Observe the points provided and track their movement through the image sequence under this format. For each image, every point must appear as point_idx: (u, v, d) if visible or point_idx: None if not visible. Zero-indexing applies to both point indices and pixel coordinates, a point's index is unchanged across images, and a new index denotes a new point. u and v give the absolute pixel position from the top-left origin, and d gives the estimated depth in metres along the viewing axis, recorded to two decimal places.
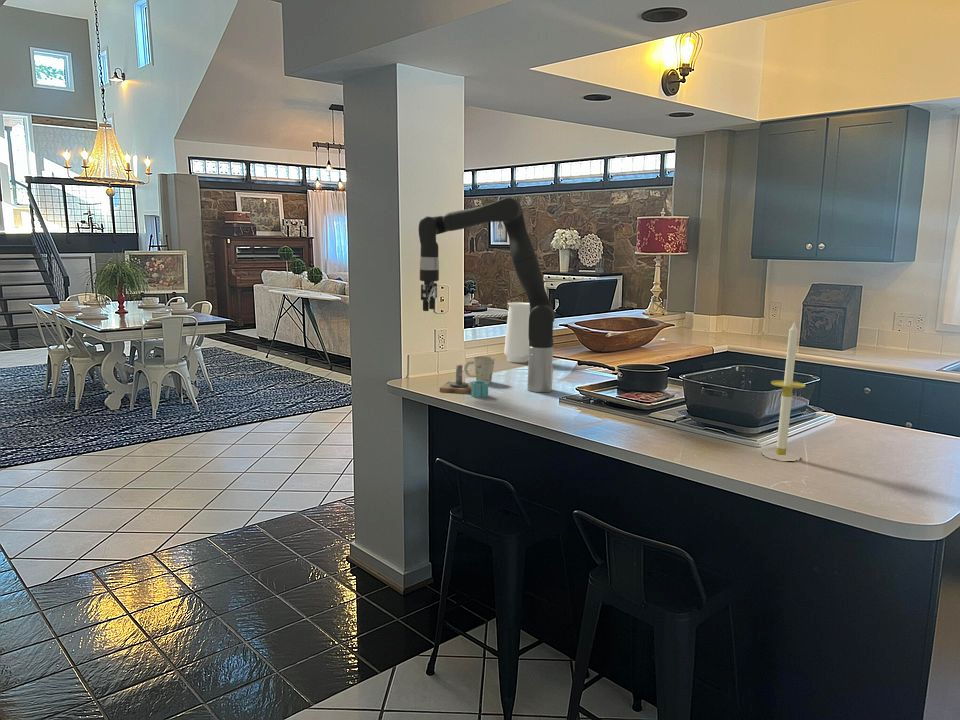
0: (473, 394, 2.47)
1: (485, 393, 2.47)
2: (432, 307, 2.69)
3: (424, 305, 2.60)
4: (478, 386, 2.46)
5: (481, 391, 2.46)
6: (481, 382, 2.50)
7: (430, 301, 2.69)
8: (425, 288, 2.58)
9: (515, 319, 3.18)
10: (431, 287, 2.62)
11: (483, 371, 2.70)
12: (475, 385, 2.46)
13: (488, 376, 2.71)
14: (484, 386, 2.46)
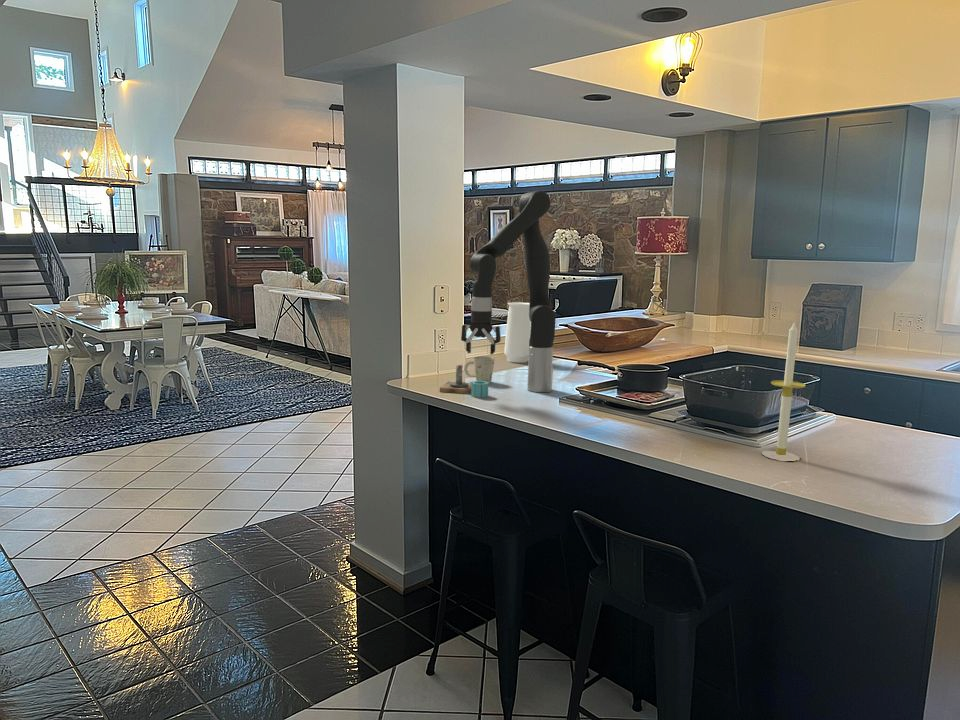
0: (473, 394, 2.47)
1: (485, 393, 2.47)
2: (470, 350, 2.48)
3: (494, 348, 2.45)
4: (478, 386, 2.46)
5: (481, 391, 2.46)
6: (481, 382, 2.50)
7: (469, 344, 2.46)
8: (499, 330, 2.44)
9: (515, 319, 3.18)
10: None
11: (483, 371, 2.70)
12: (475, 385, 2.46)
13: (488, 376, 2.71)
14: (484, 386, 2.46)
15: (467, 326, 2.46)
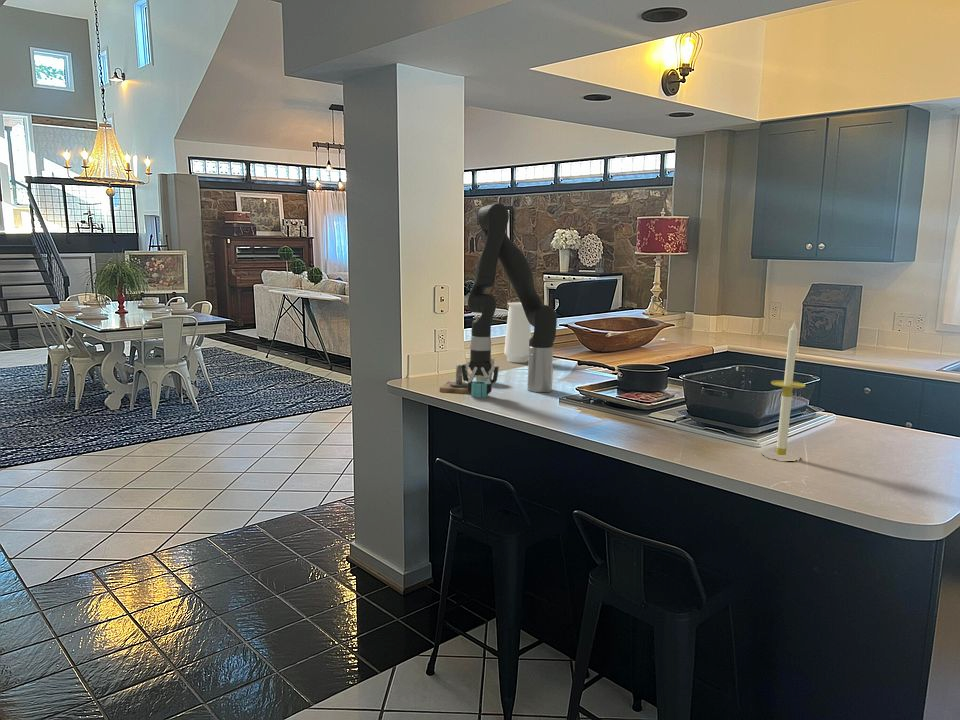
0: (473, 394, 2.47)
1: (485, 393, 2.47)
2: None
3: (491, 387, 2.48)
4: (478, 386, 2.46)
5: (481, 391, 2.46)
6: (481, 382, 2.50)
7: (471, 384, 2.49)
8: (498, 370, 2.47)
9: (515, 319, 3.18)
10: None
11: None
12: (475, 385, 2.46)
13: None
14: (484, 386, 2.46)
15: (466, 365, 2.48)
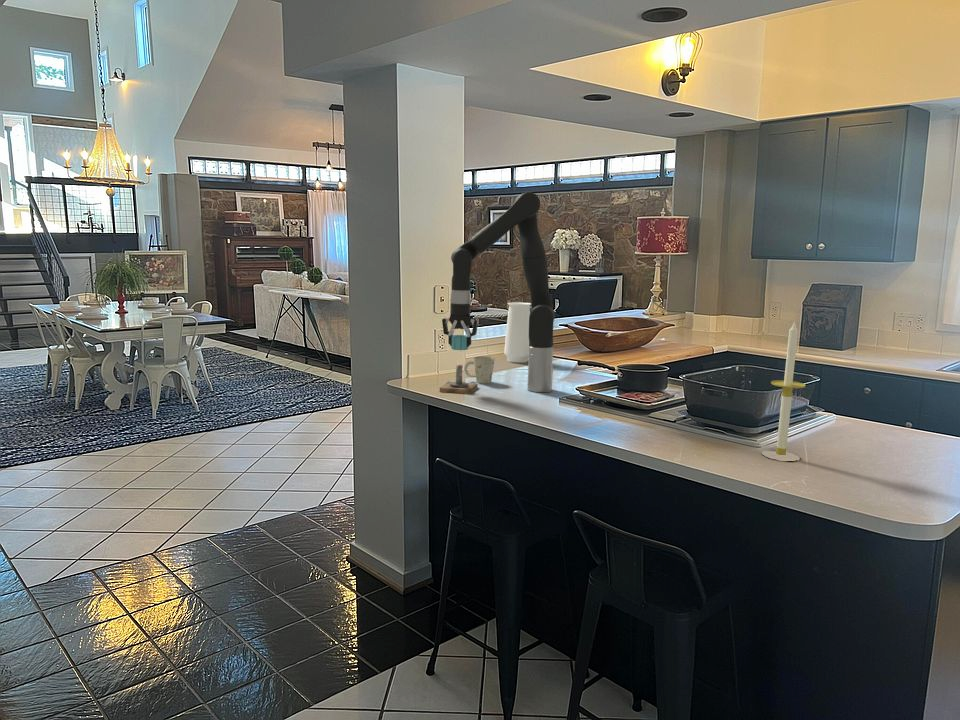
0: (453, 347, 2.54)
1: (465, 346, 2.54)
2: None
3: (470, 341, 2.55)
4: (458, 339, 2.53)
5: (461, 344, 2.53)
6: (461, 336, 2.58)
7: None
8: (477, 323, 2.54)
9: (515, 319, 3.18)
10: None
11: (483, 371, 2.70)
12: (455, 338, 2.53)
13: (488, 376, 2.71)
14: (464, 339, 2.53)
15: (447, 319, 2.55)
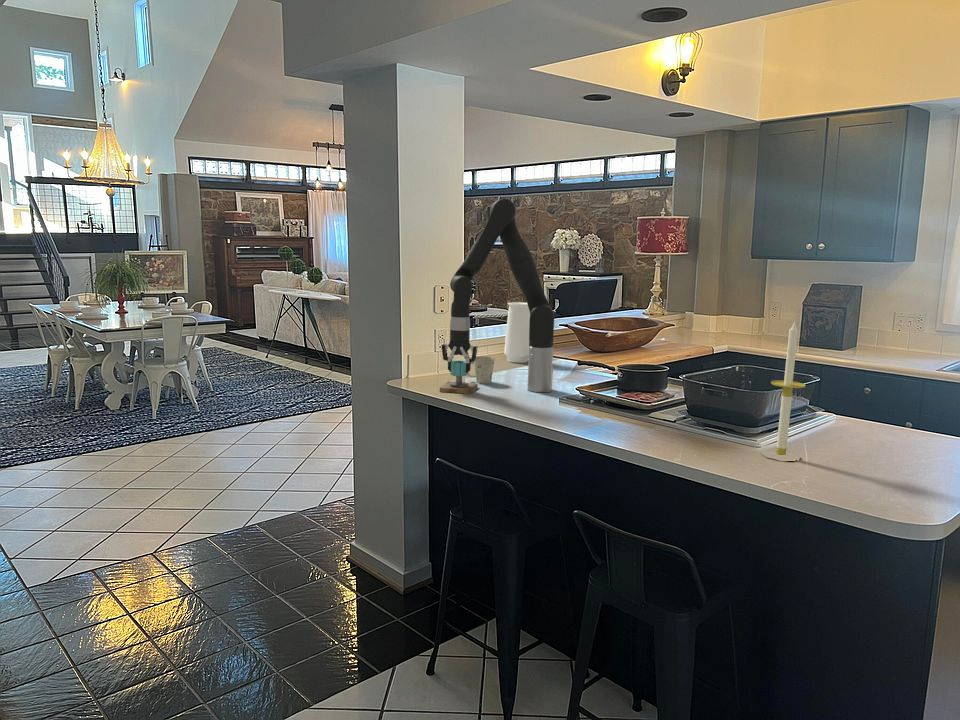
0: (452, 373, 2.56)
1: (464, 372, 2.56)
2: None
3: (469, 367, 2.57)
4: (457, 365, 2.55)
5: (460, 370, 2.55)
6: (460, 362, 2.59)
7: None
8: (476, 350, 2.56)
9: (515, 319, 3.18)
10: None
11: (483, 371, 2.70)
12: (454, 364, 2.55)
13: (488, 376, 2.71)
14: (463, 365, 2.55)
15: (446, 345, 2.57)
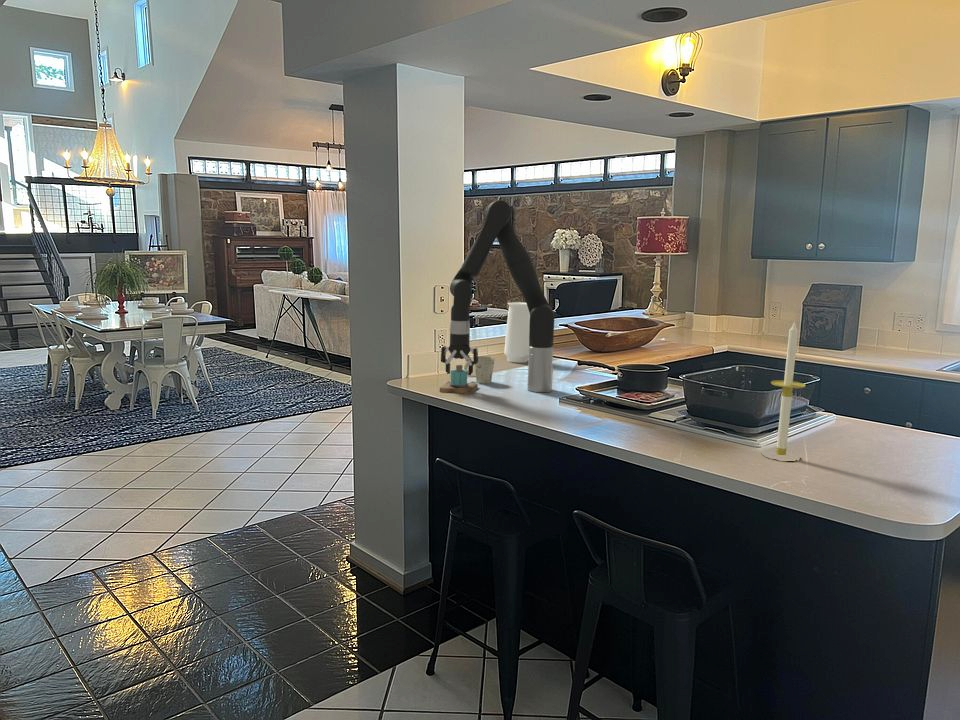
0: (452, 382, 2.57)
1: (464, 381, 2.56)
2: (449, 371, 2.59)
3: (472, 369, 2.56)
4: (457, 374, 2.55)
5: (460, 379, 2.55)
6: None
7: (449, 365, 2.58)
8: (477, 351, 2.56)
9: (515, 319, 3.18)
10: None
11: (483, 371, 2.70)
12: (454, 373, 2.55)
13: (488, 376, 2.71)
14: (463, 374, 2.56)
15: (446, 348, 2.57)
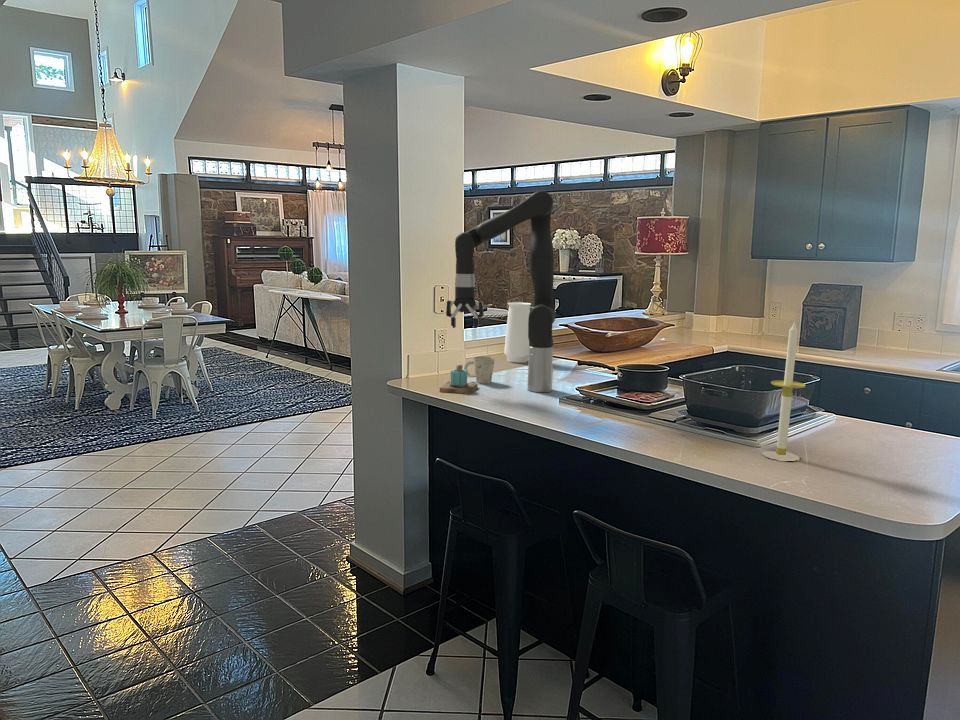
0: (452, 382, 2.57)
1: (464, 381, 2.56)
2: (455, 325, 2.60)
3: (478, 322, 2.58)
4: (457, 374, 2.55)
5: (460, 379, 2.55)
6: None
7: (454, 319, 2.59)
8: (482, 305, 2.57)
9: (515, 319, 3.18)
10: None
11: (483, 371, 2.70)
12: (454, 373, 2.55)
13: (488, 376, 2.71)
14: (463, 374, 2.56)
15: (451, 302, 2.58)
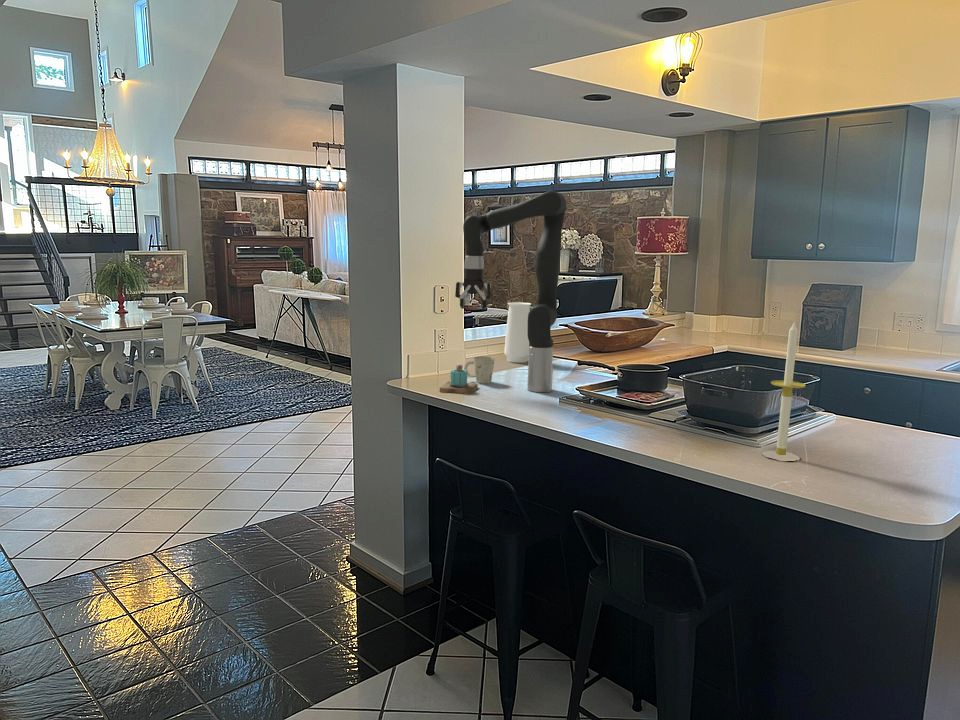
0: (452, 382, 2.57)
1: (464, 381, 2.56)
2: (463, 306, 2.67)
3: (486, 303, 2.64)
4: (457, 374, 2.55)
5: (460, 379, 2.55)
6: None
7: (463, 300, 2.66)
8: None
9: (515, 319, 3.18)
10: None
11: (483, 371, 2.70)
12: (454, 373, 2.55)
13: (488, 376, 2.71)
14: (463, 374, 2.56)
15: (461, 283, 2.65)
